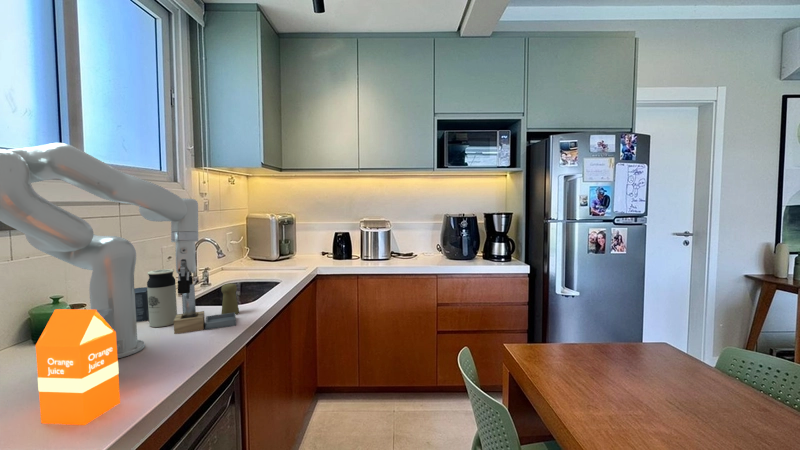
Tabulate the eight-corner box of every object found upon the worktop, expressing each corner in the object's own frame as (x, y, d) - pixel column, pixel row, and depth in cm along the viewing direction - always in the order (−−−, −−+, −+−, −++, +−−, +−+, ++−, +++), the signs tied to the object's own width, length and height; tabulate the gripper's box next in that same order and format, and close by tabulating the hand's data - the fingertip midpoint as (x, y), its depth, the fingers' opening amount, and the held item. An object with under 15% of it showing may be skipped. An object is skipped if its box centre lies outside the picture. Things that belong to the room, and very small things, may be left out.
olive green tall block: (218, 314, 135) (217, 284, 134) (235, 310, 139) (233, 281, 138) (225, 317, 130) (223, 286, 130) (242, 313, 135) (240, 283, 134)
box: (136, 316, 133) (134, 287, 133) (154, 314, 135) (153, 286, 135) (127, 323, 126) (125, 292, 125) (146, 321, 128) (145, 291, 127)
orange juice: (80, 401, 74) (74, 303, 73) (121, 402, 74) (115, 304, 73) (39, 424, 67) (31, 315, 66) (84, 425, 66) (76, 315, 65)
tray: (236, 325, 121) (235, 319, 121) (205, 329, 117) (204, 323, 117) (235, 318, 129) (235, 312, 129) (206, 322, 125) (206, 316, 125)
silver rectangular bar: (196, 328, 118) (193, 285, 118) (183, 330, 117) (180, 287, 116) (196, 325, 122) (194, 283, 121) (184, 327, 120) (182, 284, 119)
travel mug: (168, 319, 129) (165, 268, 128) (182, 321, 126) (179, 269, 125) (144, 326, 122) (141, 272, 121) (158, 329, 119) (155, 273, 118)
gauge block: (203, 329, 117) (202, 317, 117) (174, 333, 114) (173, 321, 114) (204, 322, 125) (204, 311, 124) (177, 326, 121) (176, 314, 121)
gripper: (196, 238, 111) (196, 294, 111) (199, 236, 127) (200, 285, 127) (167, 238, 108) (167, 296, 108) (174, 236, 124) (175, 287, 124)
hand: (185, 290), depth 118 cm, fingers open, 9 cm apart
